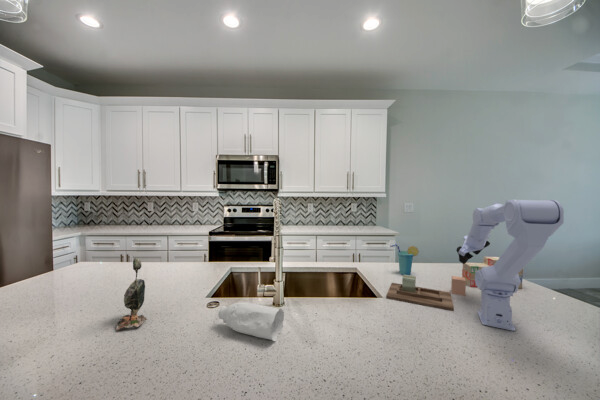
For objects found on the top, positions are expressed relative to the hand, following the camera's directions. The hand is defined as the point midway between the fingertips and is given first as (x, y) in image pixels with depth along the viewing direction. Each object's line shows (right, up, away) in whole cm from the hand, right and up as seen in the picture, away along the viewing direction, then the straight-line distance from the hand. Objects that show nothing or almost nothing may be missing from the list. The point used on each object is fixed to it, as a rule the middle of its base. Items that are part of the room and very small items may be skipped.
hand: (468, 257), depth 101 cm
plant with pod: (-118, -14, -25) cm, 122 cm away
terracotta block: (-4, -15, +1) cm, 15 cm away
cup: (-16, -14, +24) cm, 33 cm away
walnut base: (-21, -14, -3) cm, 26 cm away
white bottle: (-82, -15, -31) cm, 89 cm away
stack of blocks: (+17, -15, +10) cm, 24 cm away
